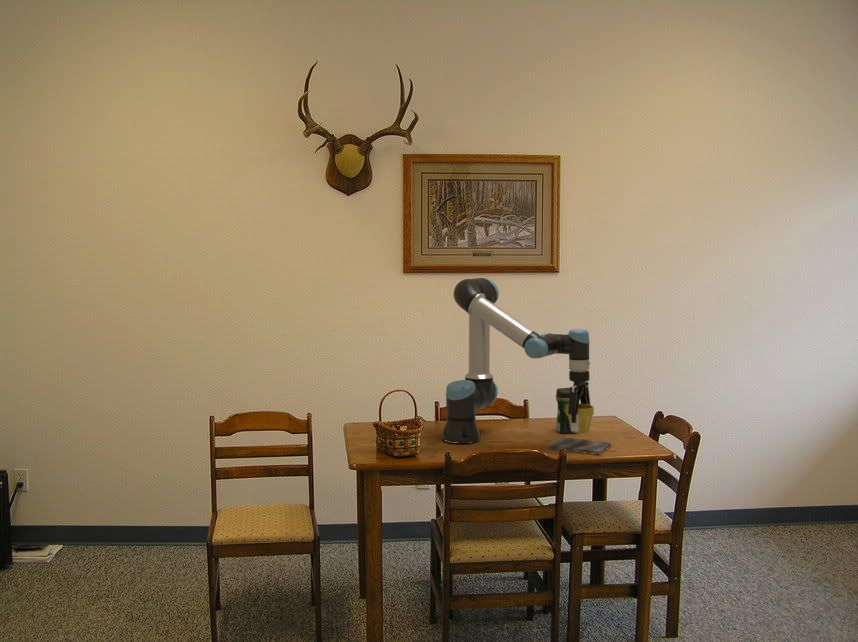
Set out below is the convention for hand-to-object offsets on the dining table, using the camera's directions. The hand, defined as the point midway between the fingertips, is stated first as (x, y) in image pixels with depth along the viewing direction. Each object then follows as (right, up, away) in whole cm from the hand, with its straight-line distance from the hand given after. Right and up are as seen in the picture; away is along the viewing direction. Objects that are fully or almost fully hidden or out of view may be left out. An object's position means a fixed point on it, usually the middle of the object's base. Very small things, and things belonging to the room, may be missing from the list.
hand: (579, 428), depth 274 cm
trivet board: (0, -8, +1) cm, 8 cm away
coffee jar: (0, -6, +26) cm, 27 cm away
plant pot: (0, -2, 0) cm, 1 cm away
